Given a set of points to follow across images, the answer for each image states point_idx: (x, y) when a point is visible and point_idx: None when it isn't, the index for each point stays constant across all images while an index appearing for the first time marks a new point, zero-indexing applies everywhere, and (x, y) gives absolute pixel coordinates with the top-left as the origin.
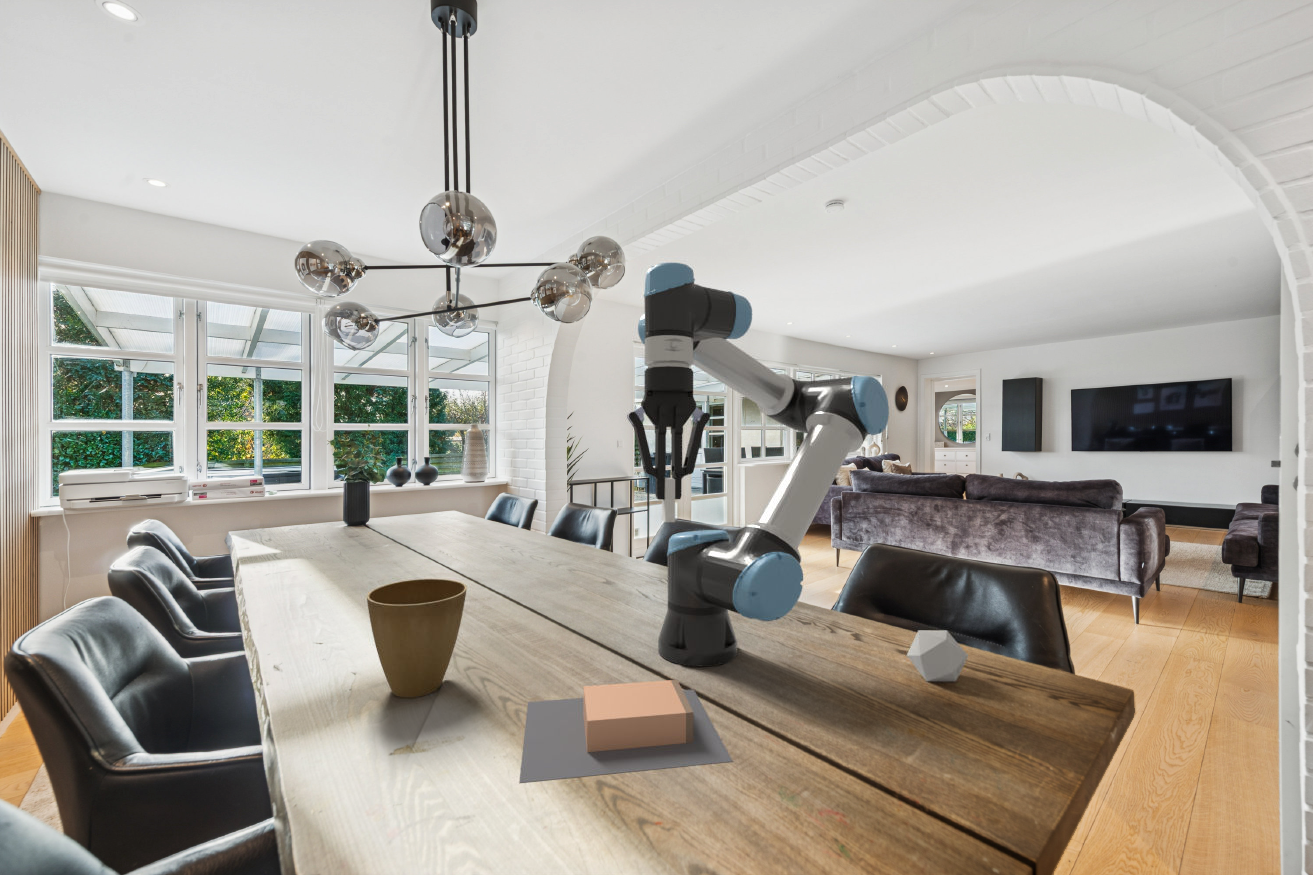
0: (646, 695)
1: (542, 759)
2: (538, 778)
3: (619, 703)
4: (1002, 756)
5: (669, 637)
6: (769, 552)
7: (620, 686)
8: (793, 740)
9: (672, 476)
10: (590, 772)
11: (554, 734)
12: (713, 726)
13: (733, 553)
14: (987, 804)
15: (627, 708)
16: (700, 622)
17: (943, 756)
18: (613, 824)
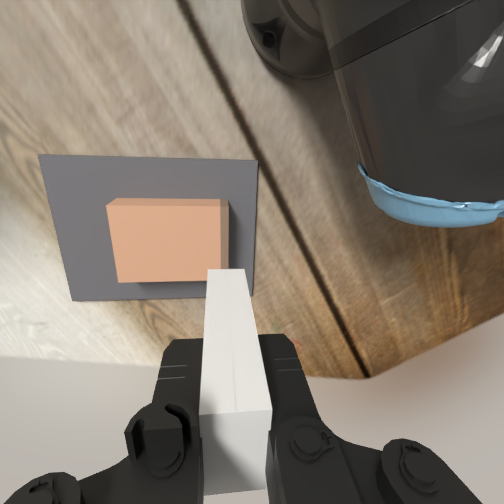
0: (184, 240)
1: (85, 273)
2: (87, 298)
3: (152, 253)
4: (449, 306)
5: (257, 16)
6: (499, 193)
7: (154, 213)
8: (316, 267)
9: (269, 456)
10: (132, 295)
11: (89, 235)
12: (253, 245)
13: (437, 127)
14: (390, 344)
15: (161, 264)
16: (316, 43)
17: (411, 301)
18: (152, 339)
